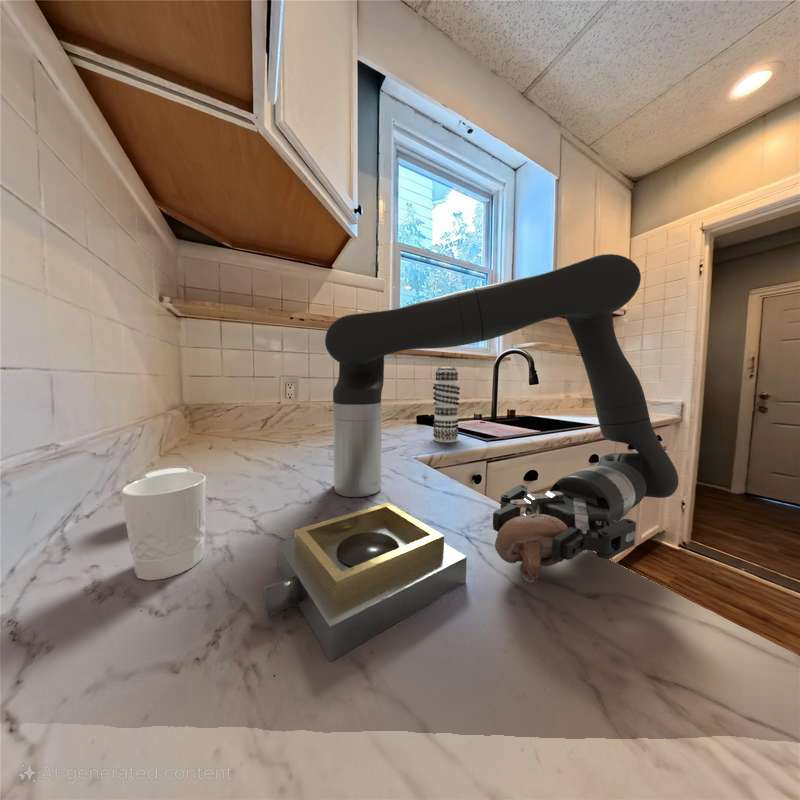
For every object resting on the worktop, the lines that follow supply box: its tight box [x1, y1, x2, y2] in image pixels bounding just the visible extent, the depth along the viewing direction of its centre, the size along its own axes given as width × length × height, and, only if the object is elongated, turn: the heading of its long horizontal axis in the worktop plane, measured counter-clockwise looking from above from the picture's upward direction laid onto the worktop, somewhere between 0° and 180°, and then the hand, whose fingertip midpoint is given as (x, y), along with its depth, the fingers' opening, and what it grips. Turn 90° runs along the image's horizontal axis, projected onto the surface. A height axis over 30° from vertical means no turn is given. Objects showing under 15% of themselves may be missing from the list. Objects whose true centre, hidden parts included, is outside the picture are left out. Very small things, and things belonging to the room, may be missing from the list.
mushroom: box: [494, 513, 568, 583], centre depth 34 cm, size 8×6×8 cm
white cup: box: [121, 471, 207, 581], centre depth 37 cm, size 8×8×10 cm
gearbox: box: [262, 502, 468, 663], centre depth 35 cm, size 17×19×5 cm
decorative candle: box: [432, 366, 461, 443], centre depth 107 cm, size 9×9×25 cm
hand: (523, 535), depth 32 cm, fingers closed on mushroom, 6 cm apart
